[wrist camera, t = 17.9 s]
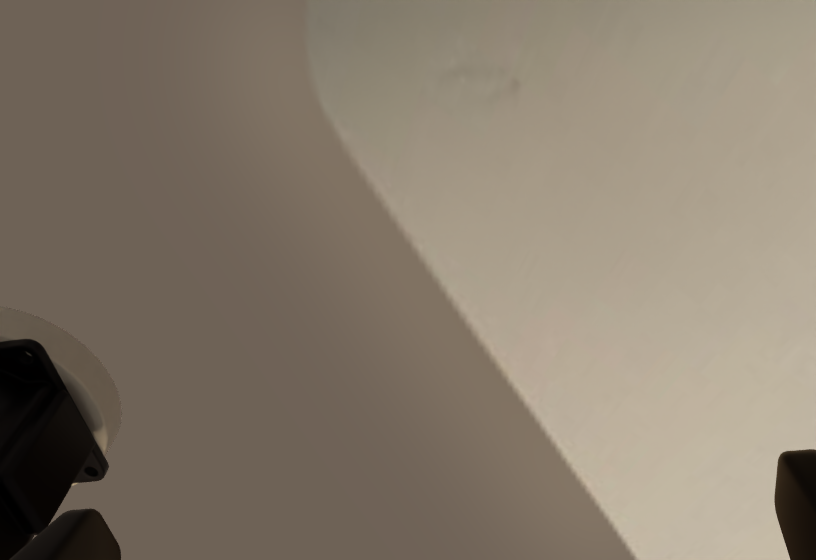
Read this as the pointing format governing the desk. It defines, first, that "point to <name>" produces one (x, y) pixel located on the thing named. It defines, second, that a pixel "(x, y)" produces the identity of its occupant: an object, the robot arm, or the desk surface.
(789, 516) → the robot arm
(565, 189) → the desk surface
